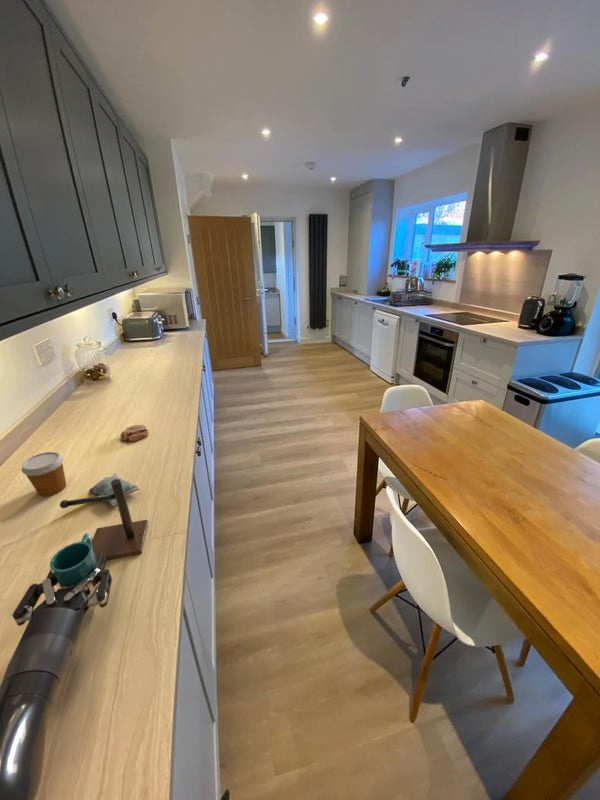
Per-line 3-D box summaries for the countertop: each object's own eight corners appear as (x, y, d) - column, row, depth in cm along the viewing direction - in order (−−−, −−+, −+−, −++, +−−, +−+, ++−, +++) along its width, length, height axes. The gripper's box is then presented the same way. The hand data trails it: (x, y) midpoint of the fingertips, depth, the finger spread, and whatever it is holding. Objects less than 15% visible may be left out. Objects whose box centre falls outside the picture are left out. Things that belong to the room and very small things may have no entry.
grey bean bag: (118, 480, 102) (114, 467, 99) (141, 493, 96) (138, 480, 94) (89, 496, 95) (85, 483, 93) (113, 512, 89) (108, 498, 87)
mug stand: (148, 522, 86) (134, 466, 78) (141, 553, 77) (125, 493, 69) (84, 534, 82) (63, 476, 75) (69, 567, 73) (44, 506, 66)
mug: (99, 603, 62) (85, 567, 58) (60, 611, 61) (43, 575, 57) (113, 557, 72) (102, 524, 68) (79, 564, 70) (66, 530, 66)
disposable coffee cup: (79, 491, 97) (67, 457, 92) (42, 509, 90) (27, 474, 85) (65, 479, 102) (53, 447, 97) (29, 496, 95) (14, 462, 90)
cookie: (149, 427, 133) (147, 420, 132) (148, 439, 124) (147, 432, 123) (122, 431, 130) (120, 425, 128) (120, 444, 121) (118, 437, 119)
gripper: (90, 624, 50) (116, 539, 64) (-22, 650, 46) (33, 554, 61) (102, 652, 53) (124, 565, 67) (-3, 679, 49) (45, 581, 64)
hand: (81, 560), depth 64 cm, fingers closed on mug, 6 cm apart
